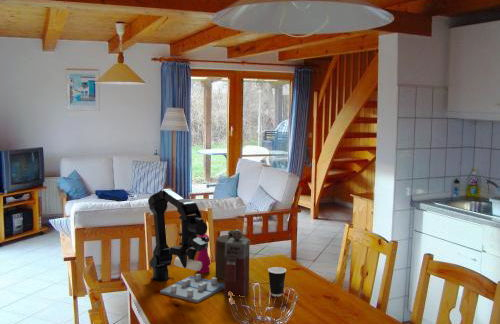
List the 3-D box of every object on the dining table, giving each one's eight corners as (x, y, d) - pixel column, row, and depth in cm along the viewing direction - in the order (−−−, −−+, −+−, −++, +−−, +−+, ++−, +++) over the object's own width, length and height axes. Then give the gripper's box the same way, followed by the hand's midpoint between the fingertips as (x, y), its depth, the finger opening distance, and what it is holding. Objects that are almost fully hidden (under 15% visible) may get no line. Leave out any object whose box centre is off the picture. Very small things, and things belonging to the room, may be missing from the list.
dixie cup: (267, 291, 221) (267, 266, 219) (285, 291, 221) (285, 267, 219) (267, 297, 213) (268, 272, 212) (286, 298, 213) (286, 273, 212)
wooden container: (252, 274, 243) (252, 229, 240) (235, 283, 230) (235, 236, 228) (227, 268, 251) (227, 225, 248) (209, 276, 238) (209, 231, 236)
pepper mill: (208, 273, 242) (208, 233, 240) (193, 272, 244) (193, 232, 241) (212, 269, 249) (212, 229, 247) (198, 268, 251) (198, 229, 248)
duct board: (160, 293, 216) (160, 284, 216) (191, 278, 235) (191, 271, 235) (197, 302, 206) (197, 294, 206) (227, 286, 225) (227, 278, 225)
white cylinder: (174, 267, 217) (174, 258, 216) (180, 264, 220) (180, 255, 220) (196, 272, 211) (196, 262, 210) (202, 269, 214) (202, 260, 214)
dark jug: (222, 297, 212) (223, 233, 209) (229, 288, 223) (229, 226, 220) (243, 299, 210) (244, 234, 207) (248, 290, 221) (249, 228, 218)
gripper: (189, 238, 202) (189, 275, 203) (216, 229, 218) (215, 264, 219) (168, 234, 207) (168, 270, 209) (195, 225, 223) (195, 259, 225)
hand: (188, 266), depth 215 cm, fingers closed on white cylinder, 4 cm apart
